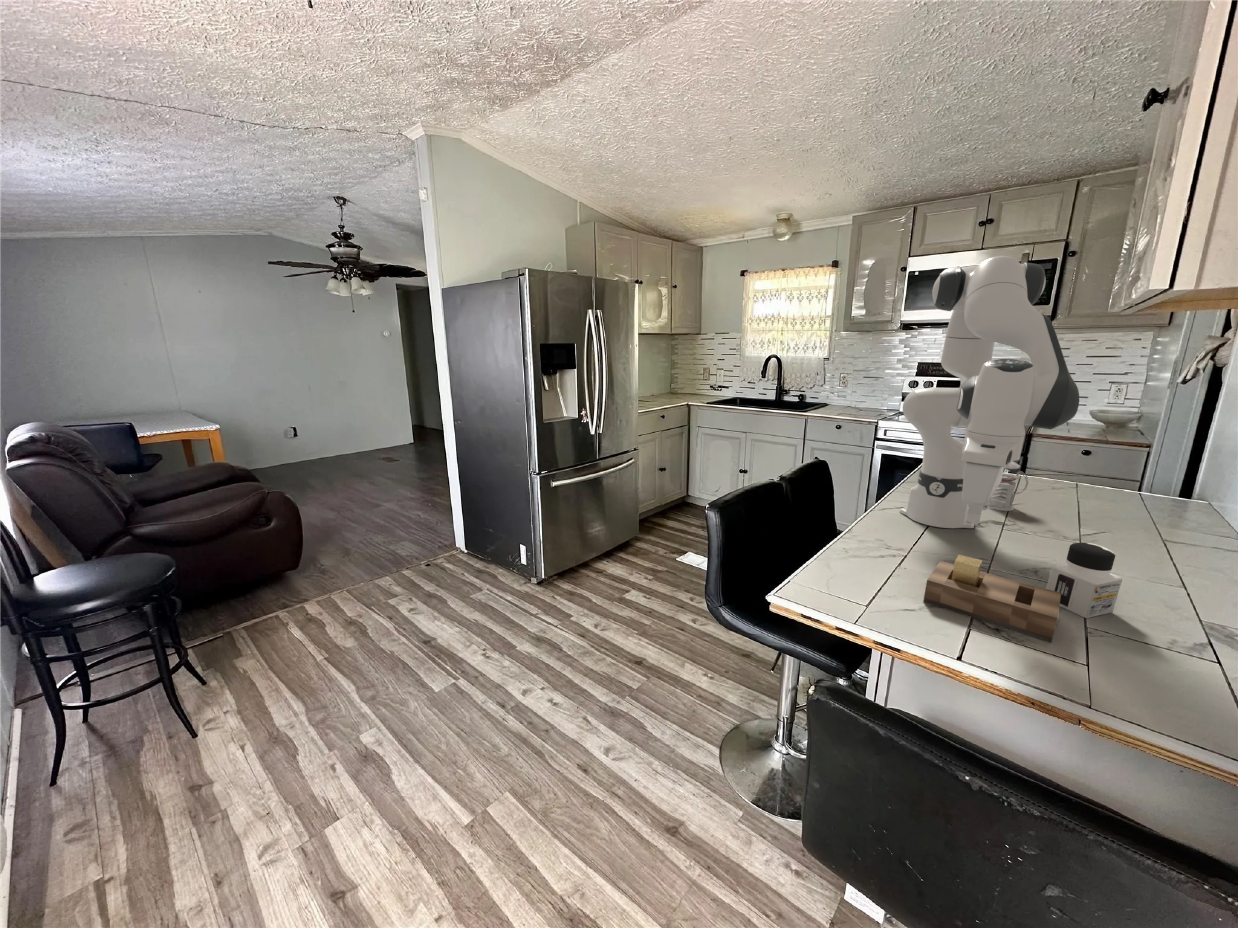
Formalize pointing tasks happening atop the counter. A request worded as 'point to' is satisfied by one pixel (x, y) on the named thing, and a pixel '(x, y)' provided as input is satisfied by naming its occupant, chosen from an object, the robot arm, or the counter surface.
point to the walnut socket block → (996, 601)
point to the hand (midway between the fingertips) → (977, 515)
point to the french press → (1006, 491)
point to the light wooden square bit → (966, 570)
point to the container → (1086, 580)
